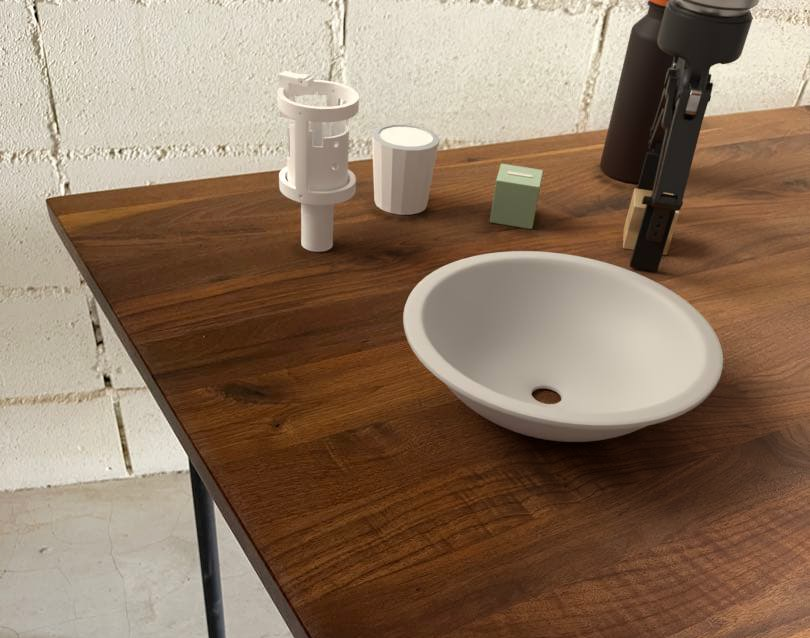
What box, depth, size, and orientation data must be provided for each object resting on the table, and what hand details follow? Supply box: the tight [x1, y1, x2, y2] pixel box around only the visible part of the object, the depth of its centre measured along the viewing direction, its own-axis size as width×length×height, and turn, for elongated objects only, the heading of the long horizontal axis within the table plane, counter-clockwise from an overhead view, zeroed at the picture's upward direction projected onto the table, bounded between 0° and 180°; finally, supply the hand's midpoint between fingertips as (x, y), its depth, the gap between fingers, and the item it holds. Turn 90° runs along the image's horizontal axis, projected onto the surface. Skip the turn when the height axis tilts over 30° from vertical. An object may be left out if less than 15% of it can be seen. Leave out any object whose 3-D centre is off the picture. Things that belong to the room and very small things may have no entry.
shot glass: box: [371, 123, 441, 216], centre depth 92 cm, size 7×7×7 cm
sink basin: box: [402, 250, 724, 443], centre depth 69 cm, size 24×24×7 cm
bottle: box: [599, 0, 674, 184], centre depth 98 cm, size 7×7×20 cm
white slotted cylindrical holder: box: [276, 70, 360, 253], centre depth 81 cm, size 7×7×15 cm
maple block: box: [622, 187, 680, 256], centre depth 91 cm, size 4×4×5 cm
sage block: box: [489, 163, 544, 230], centre depth 92 cm, size 4×4×5 cm
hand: (643, 240), depth 92 cm, fingers open, 11 cm apart
